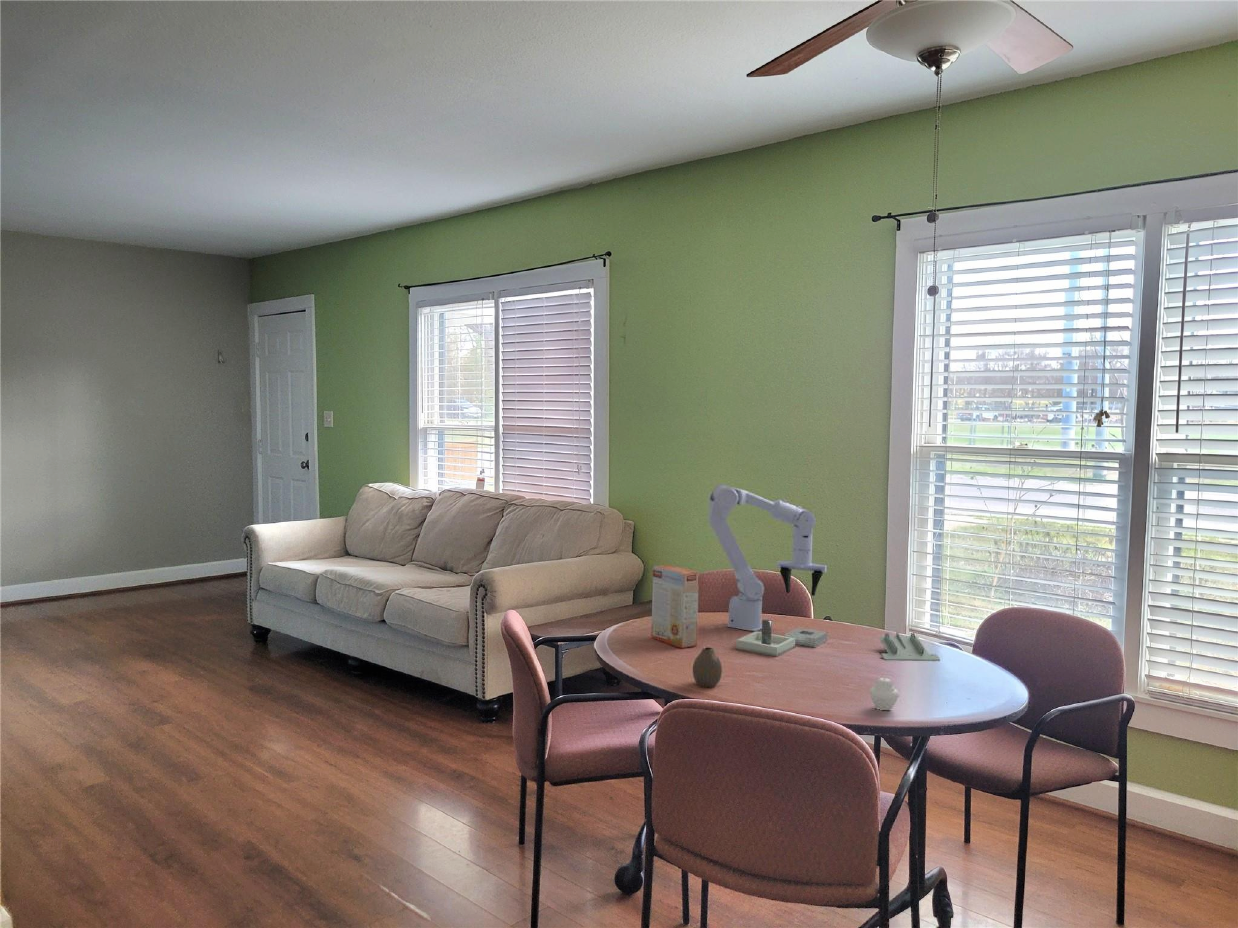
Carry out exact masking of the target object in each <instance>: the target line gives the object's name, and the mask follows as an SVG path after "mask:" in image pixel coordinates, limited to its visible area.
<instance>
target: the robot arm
mask: <svg viewBox="0 0 1238 928" xmlns="http://www.w3.org/2000/svg"><path fill="white" fill-rule="evenodd" d="M745 504H746V505H747V504H748V505H751V506H754V507H756V508H759V509H762V510H764V511H767V512H769V515H770V517H771V518H772V519H774V520H778V521H779V522H780V521H781V522H784V523H786V524H788V525H793V535H792V560H791V561H786V560H785V561H784V560H780V561H779V560H778V561H777V563H776V568H777V569H779V573H780V575H781V577H782V580H783V583H784V586H785V592H786V594H789V593H791V577H792V576H791V575H792V570H797V571H807V572H812V573H811V594H810V595H811V596H813V597H814V596H815V595H816V591H817V589H818V588H817V587H818V586H819V583H820V581H821V578H822V576H823V575H824V574H825V573H827V567H828V566H827V565H826V564H825V565H824V564H817V563H812V560H813V556H812V555H813V536H814V535H813V528H814V527H815V526H816V524H817V520H816V517H815V514H814V513H812V512H811V511H809V510H806V509H804V508H802V506H800V505H797V506H796V505H793V504H791V503H788V500H786V499H784V498H783V499H777V500H775V501H774V500H773V501H771V500H769V499H766V498H764V497H761V496H760V495H757V494H755V493H752V492H750V491H748V490H746V489H745V490H744V489H742V488H738V487H733V486H728V485H725V484H719V485H717V486H714V488H713V490H712V492H711V493H710V496H709V505H708V506H709V508H708V517H707V518H708V522H709V525H710V526H711V528H712V529H711V530H712V531H713V532H714V534H715V536H716V538H717V540H718V543H719V544H720V546H721V548H722V551H723V552H724V554H725V556H726V558H727V560H728V562H729V564H730V566H731V568H732V571H733V572H734V576H735V578H736V587H737V589H738V591H739V593H738V595H733V596H732V597H731V599H730V601H729V605H728V624H727V625H726V627H728V628H733V629H739V630H745V631H750V632H756V631H757V632H758V631H760V630H762V613H763V611H762V608H763V595H764V592H765V586H764V584H763V582H762V581H761V580H760V579H758V578H757V577H756V575H755V573H754V571H753V570H752V568H751V567H750V566H749V565H750V564H748V562H747V559H746V557H745V556H744V553H743V551H742V549H741V547H740V545H739V544H738V543H739V542H738V541H737V539H736V538H735V536H734V535H735V534H733V531H732V530H731V527H730V525H729V524H728V522H727V520H728V517H729V515H730V512H731V511H732V510H733V509H734V508H735V506H736V505H737V506H742V505H745Z"/></svg>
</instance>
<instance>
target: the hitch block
mask: <svg viewBox="0 0 1238 928" xmlns="http://www.w3.org/2000/svg"><path fill="white" fill-rule="evenodd" d="M784 637H790V638H795V645H798V646H799V645H800V646H803V647H804V646H805V647H811V648H817V647H820V645H822V644H825V643H826V642H827V641H828V632H827V631H822V630H816V629H810V628H803V627H796V628H793V629H792V630H789V631H787V632H786V633H785V634H784Z"/></svg>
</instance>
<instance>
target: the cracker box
mask: <svg viewBox="0 0 1238 928" xmlns="http://www.w3.org/2000/svg"><path fill="white" fill-rule="evenodd" d="M652 569H653V570H652V599H651V601H652V602H651V606H652V607H651V634H650V635H651V636H650V638H652V639H655V640H658V641H661V642H662V643H663V642H664V643H666V644H669V645H670V646H673V647H677V648H679V649H687V648H692V647H697V642H698V618H699V614H698V613H699V586H700V584H699V583H700V572H698V571H695V570H693V569H692V570H690V569H686V568H683V567H678V566H675V565H671V564H660V565H654V566H653V568H652Z"/></svg>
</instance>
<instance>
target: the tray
mask: <svg viewBox="0 0 1238 928" xmlns="http://www.w3.org/2000/svg"><path fill="white" fill-rule="evenodd" d="M761 638H762V631H758V630H757V631H752V633H749V634H746V635H744V636H742V637H740V638H737V639H736V649H737V650H739V651H740V650H741V651H745V650H746V651H745V652H750V653H756V654H760V653H761V655H765V656H766V655H767V656H772V657H779V656H781V655H783V654H785V653H786V652H789V651H791V650H792V649H795V648H796V644H795V638H790V637H785V635H784V636H783V635H778V634H773V633H771V645H767V644H762V643H761Z"/></svg>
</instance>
